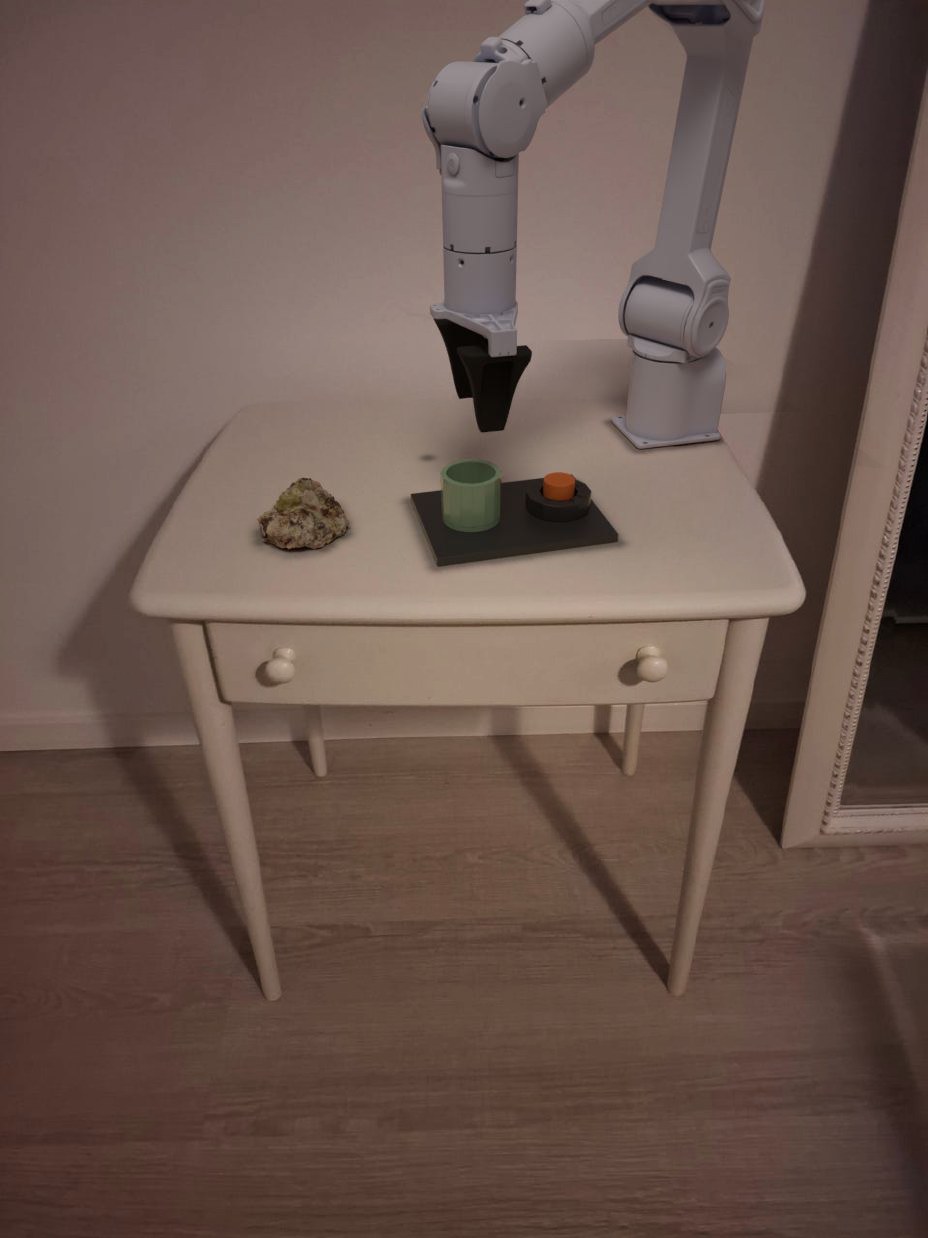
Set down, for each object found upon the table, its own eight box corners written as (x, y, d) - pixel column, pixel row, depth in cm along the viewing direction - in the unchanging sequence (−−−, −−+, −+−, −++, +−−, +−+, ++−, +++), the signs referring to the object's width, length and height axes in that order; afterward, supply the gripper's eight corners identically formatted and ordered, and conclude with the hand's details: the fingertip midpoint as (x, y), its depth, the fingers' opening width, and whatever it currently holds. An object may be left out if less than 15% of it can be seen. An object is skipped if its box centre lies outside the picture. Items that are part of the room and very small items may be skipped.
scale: (571, 482, 85) (573, 458, 83) (617, 542, 75) (620, 517, 74) (410, 502, 82) (409, 477, 80) (437, 567, 72) (436, 541, 71)
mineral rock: (347, 531, 73) (251, 509, 71) (338, 574, 75) (244, 554, 74) (359, 477, 82) (273, 457, 80) (350, 517, 84) (267, 498, 83)
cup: (491, 501, 80) (492, 456, 77) (507, 528, 76) (508, 481, 73) (436, 508, 79) (435, 462, 76) (449, 535, 75) (448, 489, 72)
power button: (568, 485, 79) (569, 470, 78) (578, 499, 77) (579, 483, 76) (538, 489, 79) (539, 473, 78) (548, 503, 77) (549, 487, 76)
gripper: (411, 229, 72) (418, 387, 80) (450, 272, 61) (453, 452, 68) (493, 223, 73) (492, 380, 81) (546, 265, 62) (539, 442, 70)
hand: (480, 412), depth 75 cm, fingers open, 7 cm apart
